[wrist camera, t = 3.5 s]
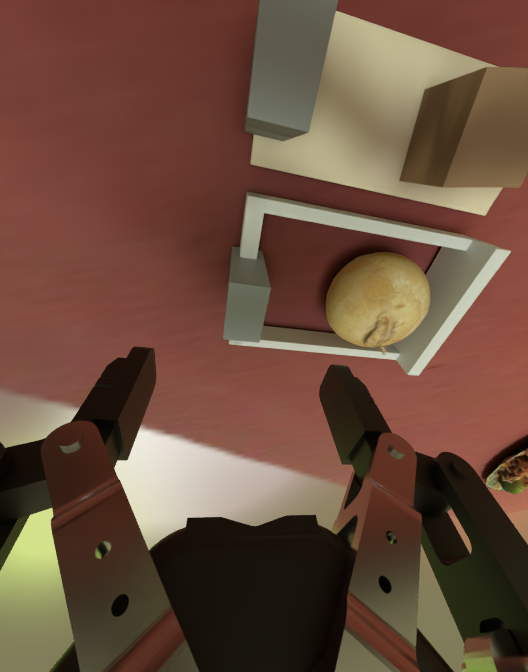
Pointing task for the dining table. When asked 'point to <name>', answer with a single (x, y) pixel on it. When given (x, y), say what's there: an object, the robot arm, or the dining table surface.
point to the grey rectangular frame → (446, 270)
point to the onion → (377, 300)
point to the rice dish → (511, 474)
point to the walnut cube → (472, 131)
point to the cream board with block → (346, 100)
